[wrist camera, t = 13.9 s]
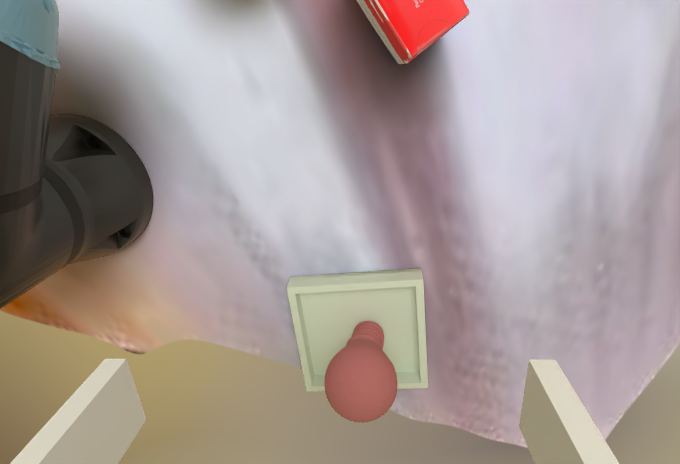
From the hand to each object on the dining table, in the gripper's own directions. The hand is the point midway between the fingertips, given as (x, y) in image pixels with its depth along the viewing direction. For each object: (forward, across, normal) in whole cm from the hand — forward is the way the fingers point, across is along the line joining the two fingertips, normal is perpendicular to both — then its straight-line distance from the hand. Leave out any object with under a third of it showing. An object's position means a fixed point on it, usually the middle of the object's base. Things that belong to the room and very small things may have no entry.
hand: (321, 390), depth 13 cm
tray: (+29, 0, -19) cm, 35 cm away
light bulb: (+29, 0, -19) cm, 35 cm away
